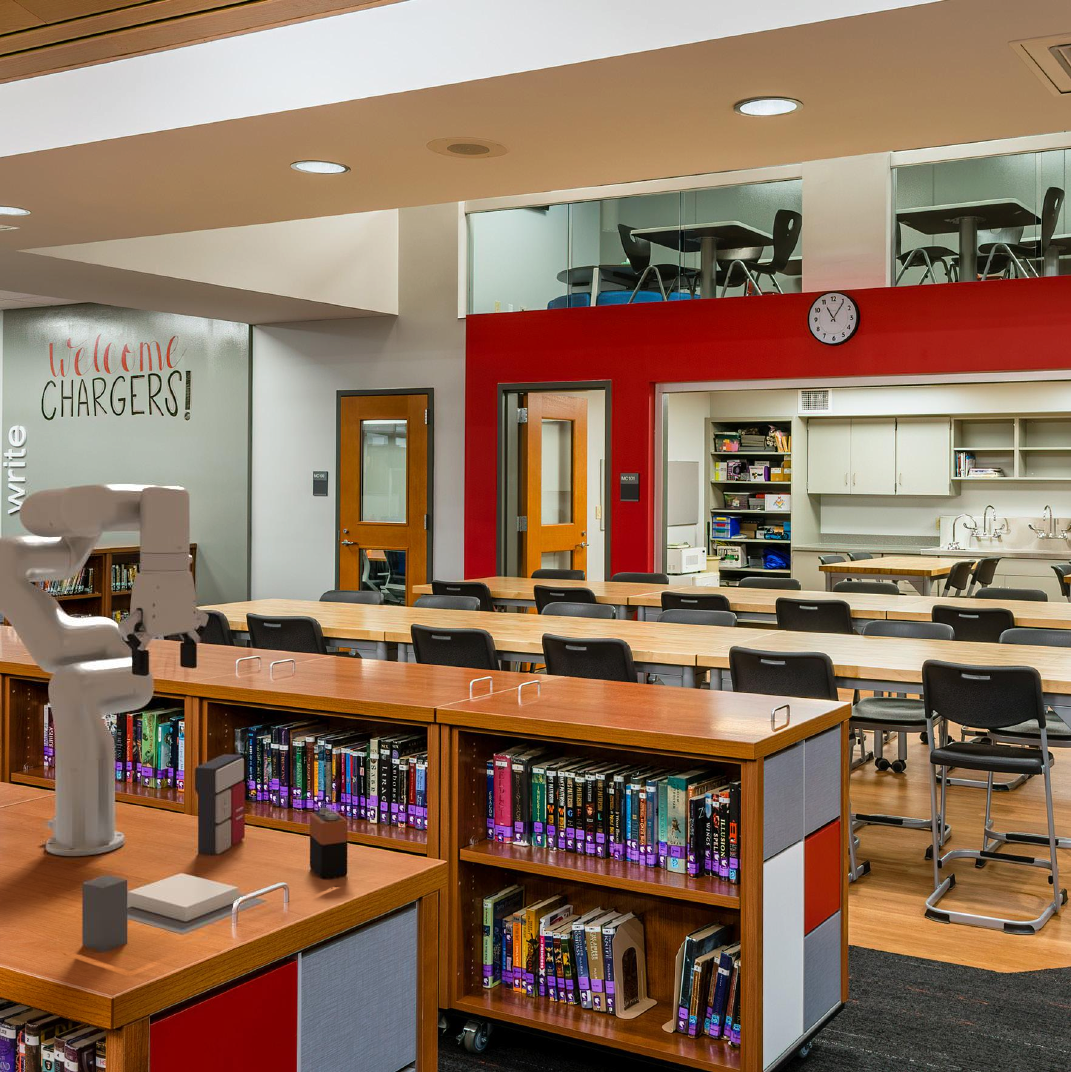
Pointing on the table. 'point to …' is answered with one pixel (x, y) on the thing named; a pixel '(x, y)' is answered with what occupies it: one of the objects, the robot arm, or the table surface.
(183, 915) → the tile
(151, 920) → the mat
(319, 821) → the battery
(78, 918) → the table surface
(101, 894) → the block
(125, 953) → the table surface
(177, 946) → the table surface
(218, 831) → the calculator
